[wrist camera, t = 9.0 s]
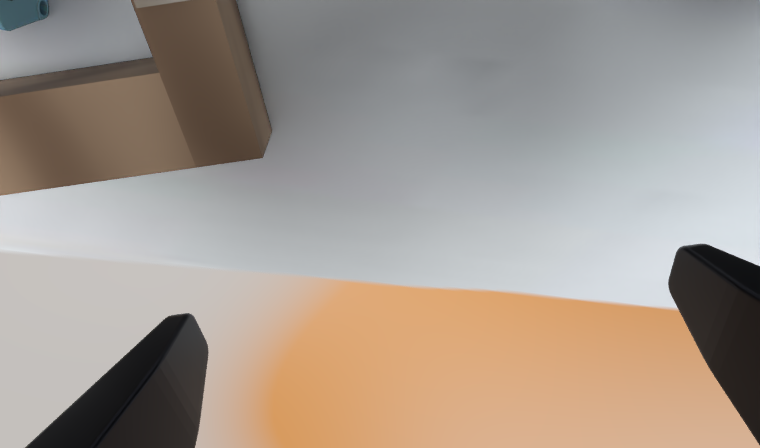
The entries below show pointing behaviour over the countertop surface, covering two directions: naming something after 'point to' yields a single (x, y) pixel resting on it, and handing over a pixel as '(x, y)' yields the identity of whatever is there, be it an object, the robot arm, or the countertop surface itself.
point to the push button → (21, 12)
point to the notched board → (139, 105)
